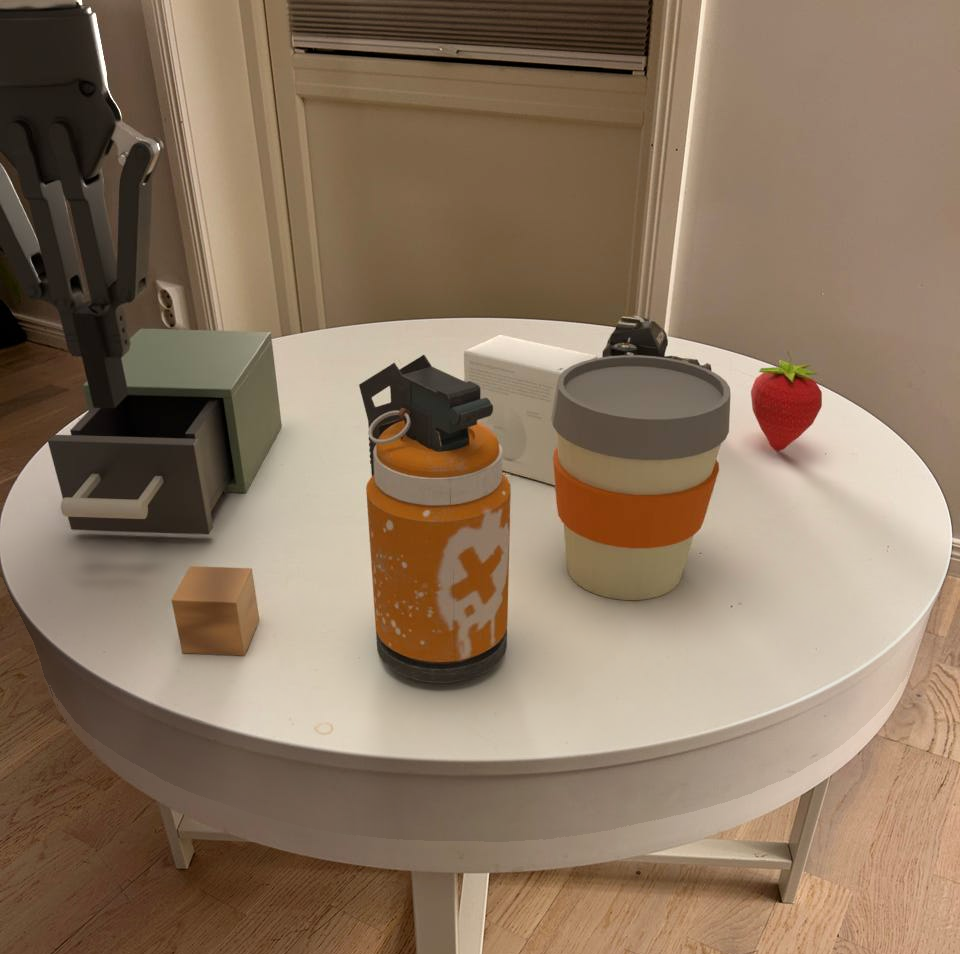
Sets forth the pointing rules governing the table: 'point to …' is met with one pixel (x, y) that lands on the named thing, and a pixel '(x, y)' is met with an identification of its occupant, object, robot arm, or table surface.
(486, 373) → the cosmetics box
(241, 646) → the block
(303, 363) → the table surface
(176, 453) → the open drawer
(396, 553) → the canister
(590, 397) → the reusable coffee cup
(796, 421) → the strawberry
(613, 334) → the film camera
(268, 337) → the small drawer cabinet
